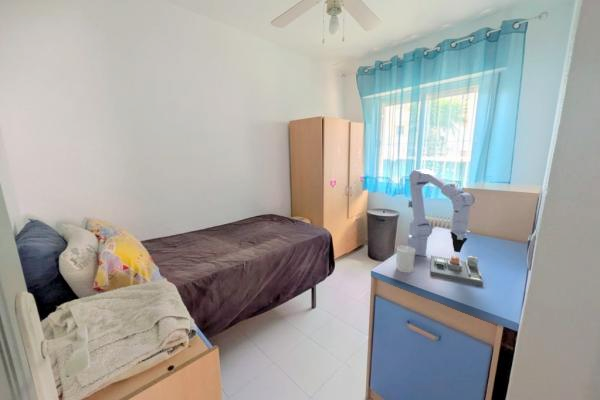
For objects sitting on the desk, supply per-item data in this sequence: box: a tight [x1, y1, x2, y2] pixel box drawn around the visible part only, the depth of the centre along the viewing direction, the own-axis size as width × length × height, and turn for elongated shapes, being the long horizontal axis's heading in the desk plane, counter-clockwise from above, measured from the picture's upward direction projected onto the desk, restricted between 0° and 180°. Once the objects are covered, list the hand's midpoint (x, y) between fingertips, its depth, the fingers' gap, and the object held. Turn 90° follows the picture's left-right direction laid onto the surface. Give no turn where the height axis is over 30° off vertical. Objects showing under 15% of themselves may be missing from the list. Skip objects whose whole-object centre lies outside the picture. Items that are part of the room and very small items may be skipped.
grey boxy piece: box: [466, 255, 479, 268], centre depth 109 cm, size 4×2×5 cm, turn 62°
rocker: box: [436, 258, 445, 265], centre depth 112 cm, size 3×6×1 cm, turn 152°
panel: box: [429, 255, 484, 287], centre depth 110 cm, size 19×18×4 cm
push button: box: [450, 255, 460, 265], centre depth 109 cm, size 3×3×3 cm
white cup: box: [395, 245, 416, 274], centre depth 112 cm, size 8×8×10 cm
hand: (456, 249), depth 108 cm, fingers open, 4 cm apart
